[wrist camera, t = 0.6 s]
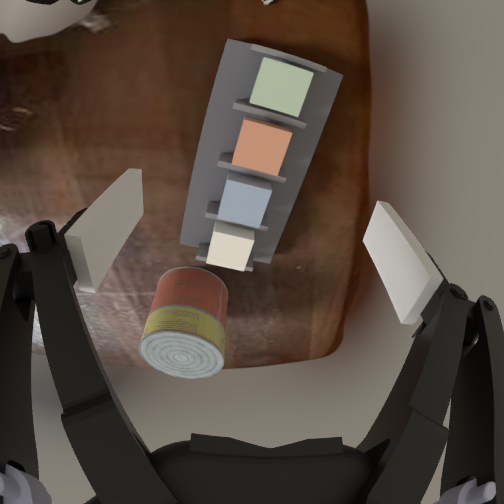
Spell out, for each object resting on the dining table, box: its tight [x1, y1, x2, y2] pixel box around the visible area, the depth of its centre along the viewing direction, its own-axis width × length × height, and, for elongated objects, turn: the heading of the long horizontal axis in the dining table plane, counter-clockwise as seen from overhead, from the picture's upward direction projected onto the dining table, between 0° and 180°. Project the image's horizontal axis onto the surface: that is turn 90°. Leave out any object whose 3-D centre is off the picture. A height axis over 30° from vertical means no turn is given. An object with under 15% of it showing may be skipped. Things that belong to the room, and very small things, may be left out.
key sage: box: [250, 57, 314, 117], centre depth 22 cm, size 4×4×2 cm
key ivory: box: [206, 220, 255, 271], centre depth 32 cm, size 4×4×2 cm
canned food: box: [139, 266, 228, 379], centre depth 39 cm, size 11×11×12 cm
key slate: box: [217, 171, 272, 228], centre depth 29 cm, size 4×4×2 cm
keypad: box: [179, 39, 343, 272], centre depth 29 cm, size 12×25×5 cm, turn 164°
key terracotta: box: [232, 116, 292, 176], centre depth 26 cm, size 4×4×2 cm
